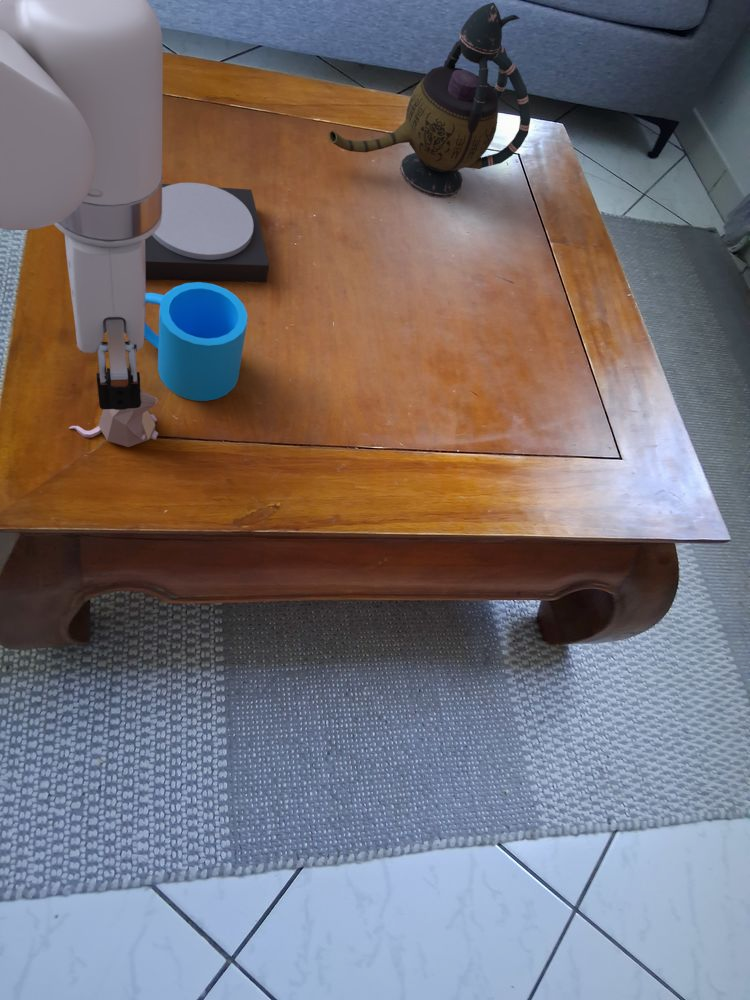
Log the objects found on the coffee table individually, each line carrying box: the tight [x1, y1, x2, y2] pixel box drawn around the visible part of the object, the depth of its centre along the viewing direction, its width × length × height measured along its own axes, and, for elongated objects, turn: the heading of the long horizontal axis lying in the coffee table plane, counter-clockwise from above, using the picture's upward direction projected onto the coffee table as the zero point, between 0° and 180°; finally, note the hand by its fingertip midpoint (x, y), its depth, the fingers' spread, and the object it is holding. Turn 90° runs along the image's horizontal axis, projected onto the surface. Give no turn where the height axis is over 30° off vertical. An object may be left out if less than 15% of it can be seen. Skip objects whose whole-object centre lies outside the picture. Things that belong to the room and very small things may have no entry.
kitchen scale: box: [145, 182, 270, 283], centre depth 87 cm, size 15×13×3 cm
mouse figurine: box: [68, 389, 159, 448], centre depth 70 cm, size 5×8×7 cm, turn 102°
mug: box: [144, 281, 248, 402], centre depth 75 cm, size 12×8×8 cm
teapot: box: [328, 1, 531, 199], centre depth 96 cm, size 12×25×23 cm, turn 107°
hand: (116, 360), depth 65 cm, fingers open, 9 cm apart
